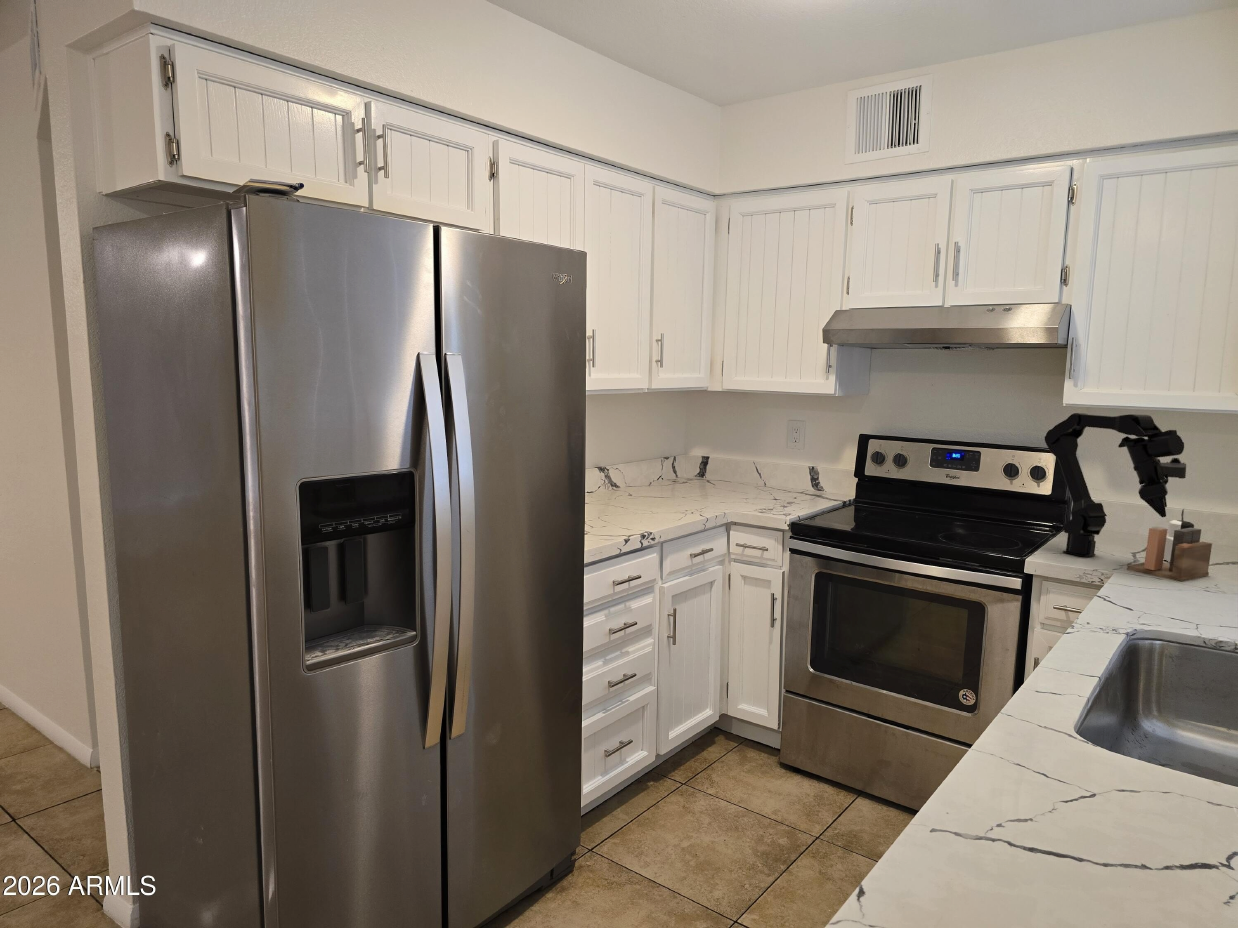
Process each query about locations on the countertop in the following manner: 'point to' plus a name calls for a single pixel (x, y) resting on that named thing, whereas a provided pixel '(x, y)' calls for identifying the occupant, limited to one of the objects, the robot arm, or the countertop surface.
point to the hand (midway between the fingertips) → (1164, 511)
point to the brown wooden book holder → (1183, 557)
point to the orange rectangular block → (1155, 548)
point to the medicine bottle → (1169, 539)
